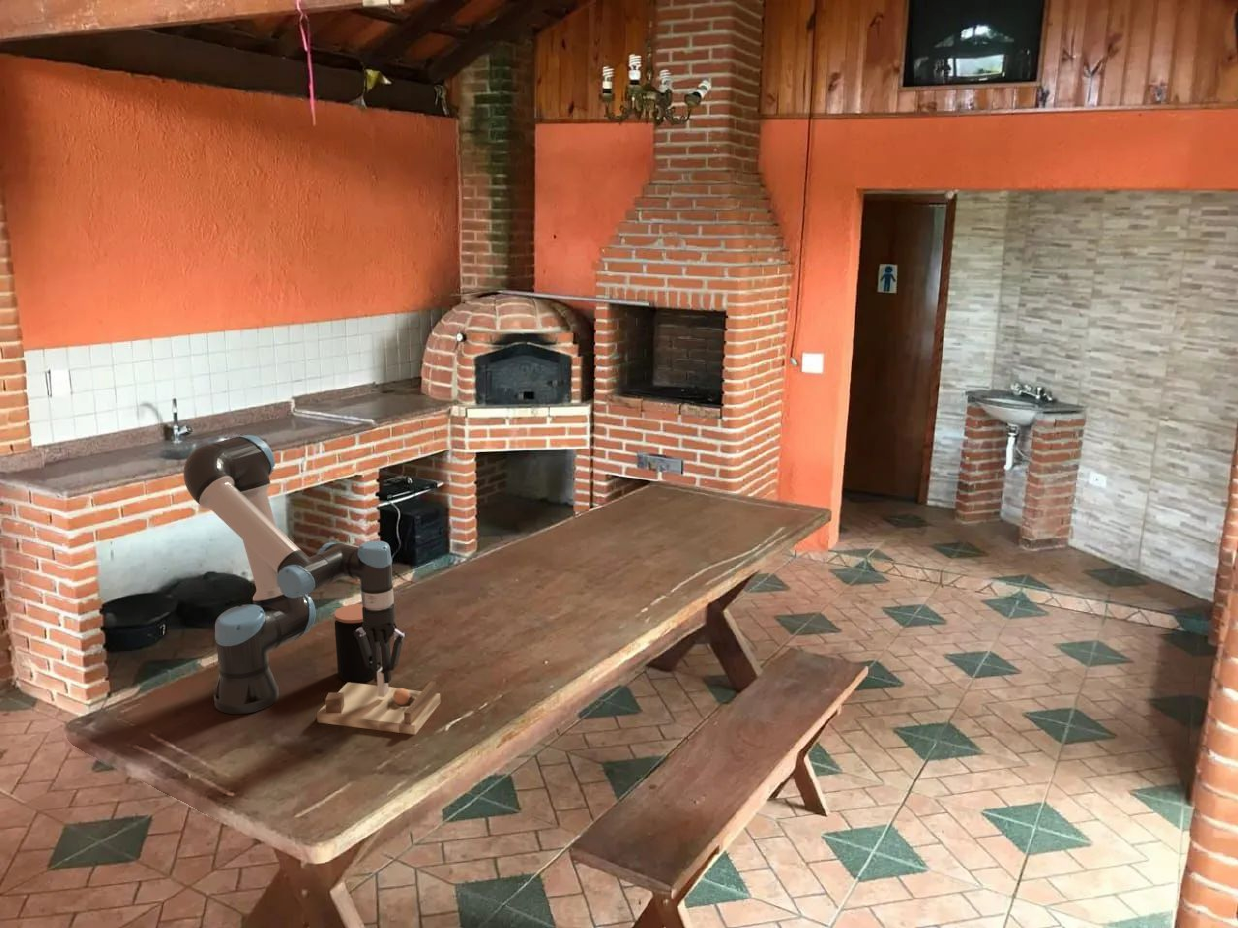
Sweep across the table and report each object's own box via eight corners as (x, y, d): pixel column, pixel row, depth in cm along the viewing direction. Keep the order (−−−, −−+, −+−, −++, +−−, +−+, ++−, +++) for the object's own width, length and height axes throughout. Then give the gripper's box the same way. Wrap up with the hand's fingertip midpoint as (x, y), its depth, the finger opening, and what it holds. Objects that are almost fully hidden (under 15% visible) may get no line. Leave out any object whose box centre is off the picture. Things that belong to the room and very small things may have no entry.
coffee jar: (387, 674, 267) (384, 611, 263) (352, 688, 260) (348, 623, 255) (365, 662, 275) (361, 600, 270) (330, 675, 267) (325, 611, 262)
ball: (407, 707, 246) (392, 708, 247) (414, 699, 250) (399, 700, 251) (403, 692, 245) (388, 693, 246) (410, 684, 249) (395, 686, 250)
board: (317, 722, 243) (316, 701, 242) (348, 691, 258) (347, 671, 257) (415, 734, 238) (414, 713, 237) (440, 702, 253) (439, 682, 252)
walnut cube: (326, 713, 242) (325, 699, 242) (329, 706, 246) (328, 692, 245) (341, 713, 243) (340, 699, 242) (344, 705, 246) (343, 692, 245)
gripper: (345, 608, 241) (352, 698, 247) (396, 613, 238) (401, 704, 244) (360, 596, 248) (365, 684, 254) (409, 601, 245) (414, 689, 251)
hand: (383, 694), depth 249 cm, fingers closed
